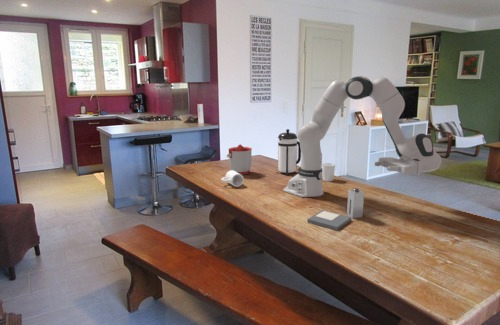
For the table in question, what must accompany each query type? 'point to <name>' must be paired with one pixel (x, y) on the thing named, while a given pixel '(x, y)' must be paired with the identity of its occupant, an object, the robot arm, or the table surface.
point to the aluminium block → (355, 203)
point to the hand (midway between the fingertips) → (381, 166)
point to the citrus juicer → (240, 159)
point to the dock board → (329, 220)
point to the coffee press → (288, 152)
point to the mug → (233, 178)
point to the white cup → (328, 171)
